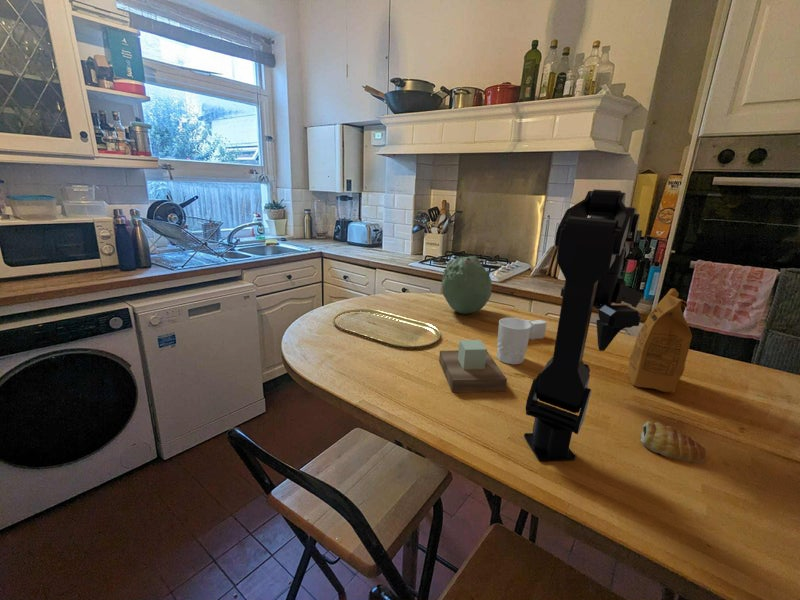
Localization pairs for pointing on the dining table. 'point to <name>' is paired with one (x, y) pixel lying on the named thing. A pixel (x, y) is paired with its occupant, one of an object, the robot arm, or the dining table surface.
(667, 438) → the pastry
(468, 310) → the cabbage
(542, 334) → the napkin holder
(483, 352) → the sage cube
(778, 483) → the dining table surface
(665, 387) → the coffee package
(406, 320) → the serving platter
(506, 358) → the white cup
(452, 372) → the walnut block
